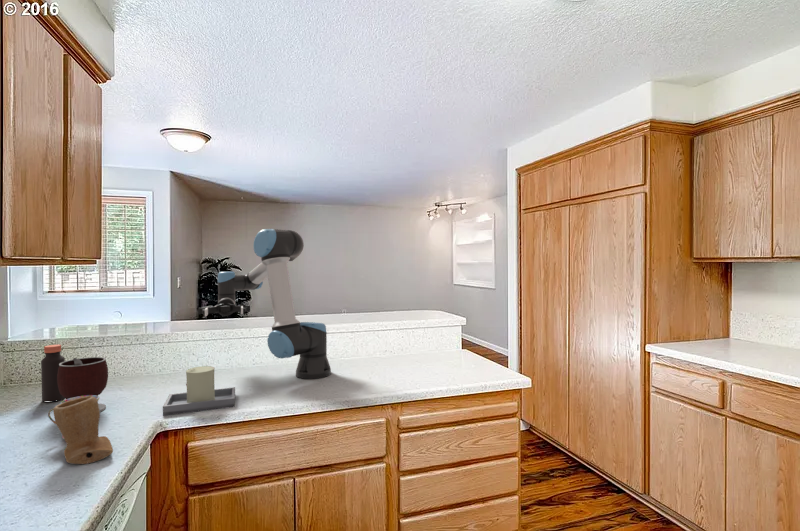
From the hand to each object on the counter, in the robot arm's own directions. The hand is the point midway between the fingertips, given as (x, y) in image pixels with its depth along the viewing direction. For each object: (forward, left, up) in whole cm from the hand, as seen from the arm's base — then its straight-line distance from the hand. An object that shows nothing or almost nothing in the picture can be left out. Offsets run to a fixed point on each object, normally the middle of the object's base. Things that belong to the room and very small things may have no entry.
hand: (224, 311), depth 173 cm
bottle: (+59, -5, -30) cm, 66 cm away
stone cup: (+32, +54, -30) cm, 70 cm away
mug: (+39, +39, -30) cm, 63 cm away
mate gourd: (+44, +15, -30) cm, 55 cm away
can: (+7, +22, -29) cm, 37 cm away
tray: (+7, +22, -30) cm, 38 cm away
